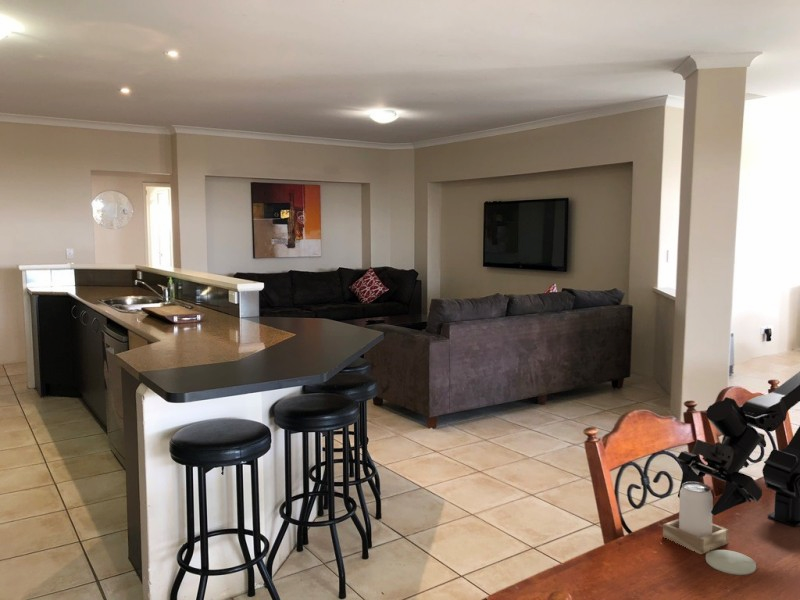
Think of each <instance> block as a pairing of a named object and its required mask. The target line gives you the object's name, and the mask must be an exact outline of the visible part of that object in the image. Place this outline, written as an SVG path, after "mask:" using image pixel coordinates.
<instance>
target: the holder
mask: <svg viewBox="0 0 800 600" xmlns="http://www.w3.org/2000/svg"><path fill="white" fill-rule="evenodd" d="M662 525H663V526H662V538H663V537H664V538H663V539H665V538H667V539H666V540H668V539H669V540H668V541H670V540H671V541H670V542H672V541H674V542H675V544H677V543H678V544H677V545H679V544H680V546H681V545H682V546H681V547H683V546H684V547H683V548H685V547H686V549H688V550H690V551H693V552H694V551H695V552H694V553H696V554H699V555H704V554H707V553H708V552H710V550H711V551H713V550H716V549H718V548H721V547H722V546H725V545H728V544H729V529H728V528H725V527H723V526H721V525H717V524H715V523H713V522H712V534H709V535H707V536H704V537H702V538H699V537H697V536H694V535H692V534H689V533H687V532H685V531H682V530H680V529H679V518H677V519H674V520H671V521H668V522H665V523H663V524H662ZM674 542H673V543H674Z"/></svg>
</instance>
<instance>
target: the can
mask: <svg viewBox="0 0 800 600" xmlns="http://www.w3.org/2000/svg"><path fill="white" fill-rule="evenodd" d="M711 490H712V488H711V486H710V485H708V484H705V483H702V482H700V483H699V482H685V483H683V484H682V488H681V490H680V498H679V509H678V513H679V514H678V515H679V516H678V519H679V529H680V530H682V531H685V532H687V533H689V534H692V535H694V536H697V537H699V538H702V537H704V536H707V535H709V534H712V523H713V514H712V513H711V511H712V509H713V507H714V505H713V503H714V501H713V500H714V498H713V493H712V491H711Z"/></svg>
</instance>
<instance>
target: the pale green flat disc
mask: <svg viewBox="0 0 800 600" xmlns="http://www.w3.org/2000/svg"><path fill="white" fill-rule="evenodd" d="M705 561H706V563H707V565H708V566H710V567H711V568H713V569H715V570H716V571H719V572H722V573H725V574H729V575H735V576H737V575H738V576H747V575H750V574H753V573H755V572H756V571H757V563H756V562H755V560H754V559H752V558H751V557H749V556H748V555H746V554H743V553H741V552H737V551H734V550H729V549H728V550H726V549H713V550H711V551H708V552H706V553H705Z"/></svg>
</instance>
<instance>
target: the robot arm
mask: <svg viewBox="0 0 800 600" xmlns="http://www.w3.org/2000/svg"><path fill="white" fill-rule="evenodd" d="M799 402H800V371H798V372H796V374H794V375H793V376H791V378H789V379H788V380H786V381H785V382H784V383H782V384H780V386H778V387H777V388H775V389H774V390H773V391H771V392H769V393H767V394H761V395H756V396H755V397H753V398H751V399H749V400H746V401H745V402H744V403H743V404H741V405H738V403H737V401H736V400H735V399H734V398H731V397H728V396H725V397H724V399H723V400H719V401H716V402H714V403H712V404H711V405H709V406H708V407H707V409H706V411H705V415H706V418H707V419H708V420H709V421H710V423H711V424H712V425H713V427H715V429H716V430H717V431H718V432H719V433H720V434H721V435H722V436H723V437H726V438H725V439H724V440H723V441H722V442H719V441H717V442H715V443H714V444H711V443H709V442H706V441H704V440H700V439H698V438H697V439H696V442H695V444H694V447H693V450H692V451H691V452H689V451H686V450H684V451H681V452H679V455H678V456H677V457H676V460H677V461H678V462H679V463H678V465H679V467H681V470H682V475H681V476H682V477H681V481H680V484H679V485H680V486H679V488H678V489H679V490H678V493H677V497H678V499H680V490H681V488H682V484H683V483H685V482H699V483H702V482H703V479H702V478H703V477H705V476H706V475H707V476H710V477H712V478H715V479H717V480H719V481H722V482H724V490H723V492H722V494H721V495H720V496H719V497H718V498H717V499H718V500H717V501H716V502H715V504H714V505H713V509H712V511H711V513H712V516H717V515H720V514H721V513H724V512H725V511H727V510H729V509H732V508H735V507H736V506H739V505H743V504H745V503H748V504H749V503H751V502H752V501H753V502H756V503H758V502H759V501H760V499H761V497H762V496H763V488H762V487H761V486H760V485H759V484H758V483H757V481H756V480H755V479H754V478H753V477H752V476H751V475H748V474H745V473H743V472H740V470H741V469H742V468H743V467H744V468H748V467H749V466H750V463H749V462H748V459H749V457H750V456H751V455H752V453H753V452H754V451H755V449H756V447H758V446H759V447H762V448H766V447H767V442H766V439H765V434H763V433H760V432H758V430H757V429H759V430H763V431H766V432H772V433H773V432H774V431H776V430H777V429H778V428H780V426H781V425H782V424H783V423H784V422H785V421H786V420H787V414H788V412H789V410H791V408H793V407H794V406H796V405H797V404H798V403H799ZM698 455H699V456H702V459H701V458H700V457H699V456H698ZM704 462H705V463H707V464H705V463H704ZM763 463H764V466H763V467H762V471H761V472H762V475H763V479H764V483H765V488H766V489H769V490H772V491H774V508H773V510H774V511H772V512H771V513H768V514H767V518H770V519H772V520H775V521H778V522H781V523H784V524H786V525H788V526H791V527H794V528H795V527H799V526H800V425H799V426H798V427H797V430H796V431H795V433H794V434H793V436H792V437H791V439H790V441H789V442H788V444H787V445H786V447H785V448H784V449H783V448H782V449H781V450H779V449H776V448H773V449H772V450H771V451H770V452H769V455H768V457H767V458H766V460H765V461H763Z"/></svg>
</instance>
